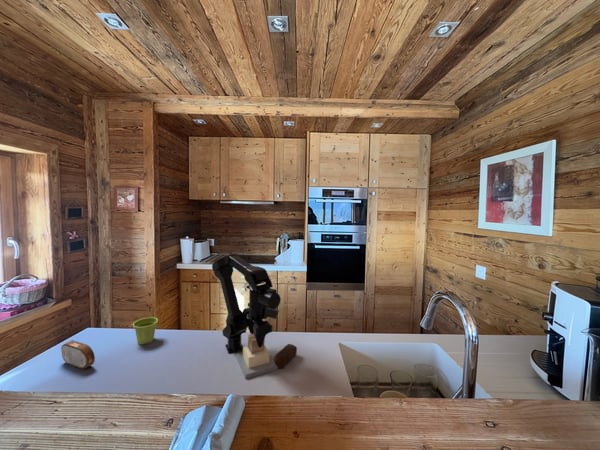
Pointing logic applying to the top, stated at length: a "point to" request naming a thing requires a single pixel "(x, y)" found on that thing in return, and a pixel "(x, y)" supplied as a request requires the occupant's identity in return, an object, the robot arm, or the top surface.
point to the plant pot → (145, 329)
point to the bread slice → (78, 354)
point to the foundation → (255, 362)
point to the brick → (285, 355)
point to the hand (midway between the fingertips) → (256, 341)
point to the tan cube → (254, 344)
